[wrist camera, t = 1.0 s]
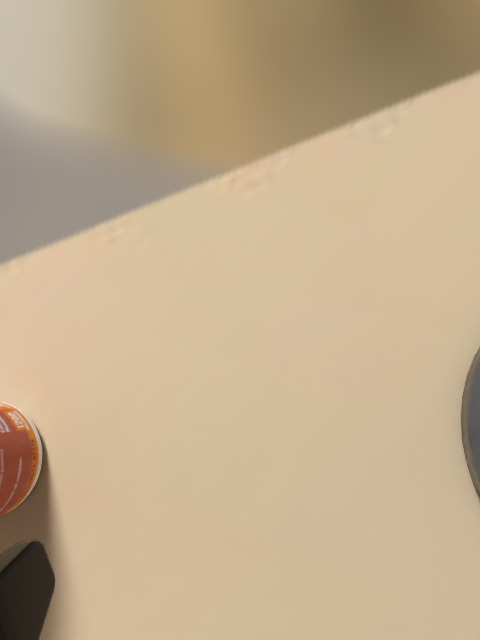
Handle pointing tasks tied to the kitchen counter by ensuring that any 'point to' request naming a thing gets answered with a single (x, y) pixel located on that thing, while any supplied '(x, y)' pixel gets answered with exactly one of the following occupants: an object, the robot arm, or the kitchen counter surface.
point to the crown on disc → (472, 420)
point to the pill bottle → (17, 457)
